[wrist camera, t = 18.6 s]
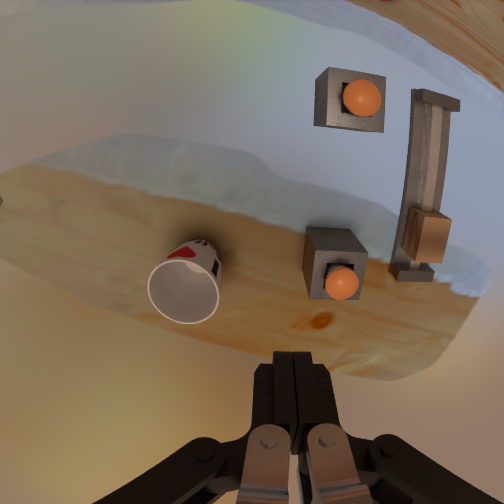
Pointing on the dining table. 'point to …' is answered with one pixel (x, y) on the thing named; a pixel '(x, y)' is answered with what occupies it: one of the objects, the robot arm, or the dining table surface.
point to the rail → (423, 173)
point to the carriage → (426, 235)
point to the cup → (187, 283)
